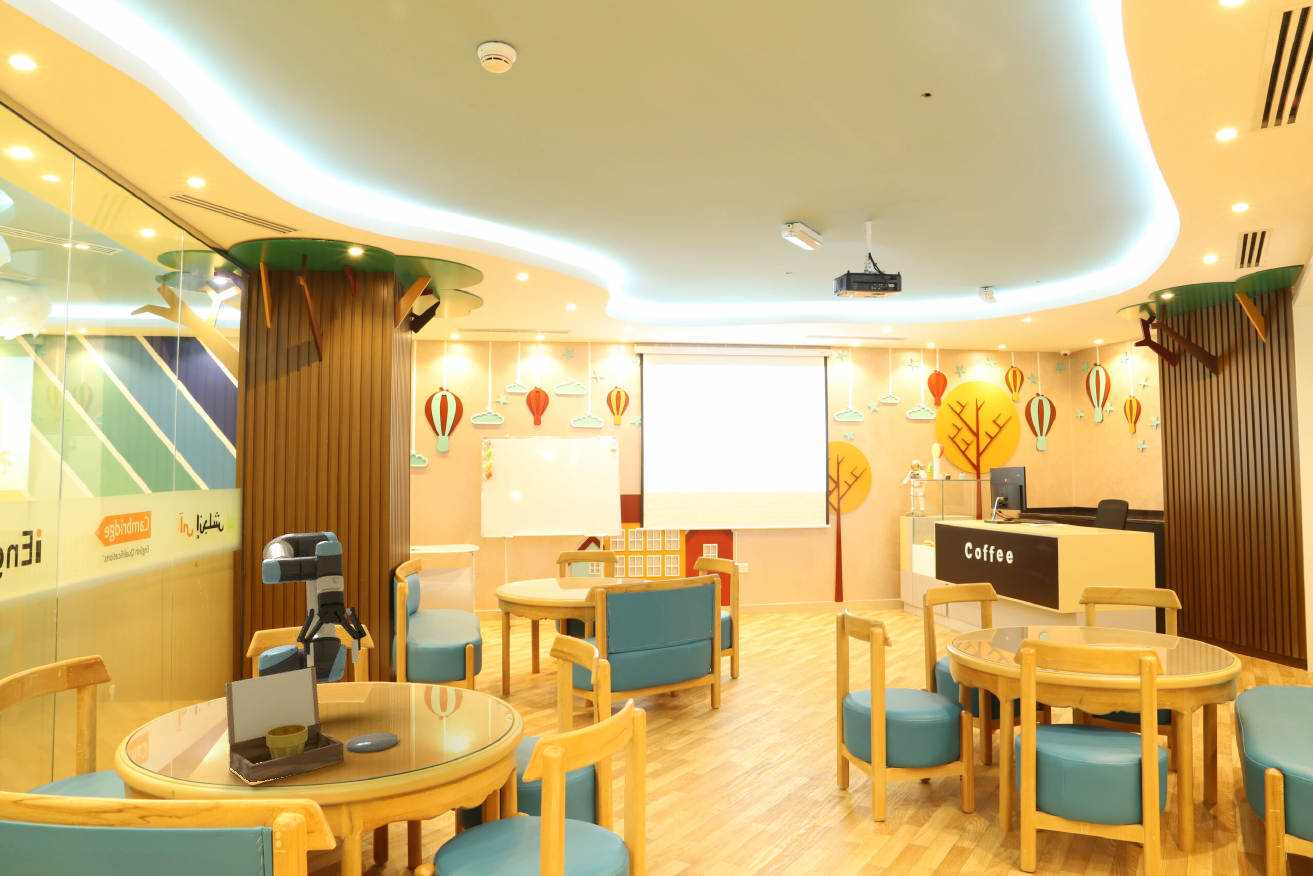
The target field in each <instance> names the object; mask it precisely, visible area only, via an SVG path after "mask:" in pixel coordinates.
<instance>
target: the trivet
mask: <svg viewBox="0 0 1313 876" xmlns="http://www.w3.org/2000/svg"><path fill="white" fill-rule="evenodd" d="M396 743H397V744H398V735H397V734H394V733H391V732H372V733H365V734H361V735H357V736H355V737H352V738H351V739H349V740H348V741H347V743H346V749H347V751H349V752H353V753H373V752H379V751H384V750H387V749H389V748H392V747H394V746H396V745H397V744H396Z"/></svg>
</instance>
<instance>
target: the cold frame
mask: <svg viewBox="0 0 1313 876" xmlns="http://www.w3.org/2000/svg"><path fill="white" fill-rule="evenodd" d="M307 727H308V738H307V741H305V744H304V749H303V752H301V753H297V754H293V755H289V756H285V757H281V758H277V759H273V760H272V758H271V754H270V749H269V747H268V746H267V745H266V736H262V737H258V738H254V739H249V740H245V741H241V742H236V743H232V744H229V769H230V768H232V769H233V770H234V771H236V772H237V773H238V774H239V775H241V776H242V777H243V778H244V779H246V780H248V781H249V782H257V781H265V780H270V779H275V778H276V779H277V778H280V779H282V778H281V777H284V778H287V777H286V776H288V777H290V776H289V775H291V776H294V774H295V775H298V774H297V773H299V774H301V773H307V772H309V771H313V770H316V769H321V768H324V767H329V766H333V765H336V764H339V763H343V762H344V742H342V741H341V740H339V739H337V738H334V737H333V736H331V735H329V734H327V733H325V732H323V731H321V723H319V724H315V725H310V726H307ZM260 762H262V763H260ZM256 763H258V764H256ZM277 780H278V779H277Z"/></svg>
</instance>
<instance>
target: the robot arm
mask: <svg viewBox="0 0 1313 876" xmlns="http://www.w3.org/2000/svg"><path fill="white" fill-rule="evenodd" d="M342 546H343V545H342V543H341V542H340V541H339V540H338V537H337V535H336V533H334V532H333V531H327V532H326V531H318V532H304V533H303V532H302V533H301V532H299V533H288V534H283V535H279V536H277V537H275V538H273V539H272V540H271V541H269V542H268V543H267V544H266V545H265V546H264V548H263V551H262V558H263V560H262V564H261V566H262V567H261V576H262V583H263V584H266V585H269V584H273V585H276V584H284V583H285V584H286V583H294V582H306V583H305V584H306V602H307V605H306V606H307V609H306V610H307V611H306V618H305V620H304V622H303V624H302V627H301V628H300V632H299V634H298V636H297V637H296V642H297V643H301V644H302V645H303V648H299V647H298V645H297V644H290V645H289V644H286V645H281V646H276V647H273V648H270V649H267V650H264V651H263V652H262V653H261V654H260V655H259V656H258V667H257V670H258V677H263V676H268V675H274V674H279V673H285V672H291V671H296V670H302V669H307V668H312V667H316V681H317V684H319V683H322V684H323V683H330V682H334V681H339V680H341V679H342V678H343V676H344V673H345V668H346V659H347V658H346V657H347V645H346V644H345V643H342V639H341V638H340V637H339V636H338V635H337V632H336V624H338V625H340V626H341V627H342V628H343V629H344V630H345V632H346V633H347V634H348V635H349V636H350V637H351V638H352V639H353V640H351V642H350V643H351V661H352V662H351V664H356V663H358V662H359V659H360V658H359V651H361V649H362V648H361V647H362V646H361V645H362V644H361V640H362V639H363V638H365V637H367V635H368V634H367V632H366V630H365V629H364V627H363V624H362V622H361V621H360V620H359V617H358V615H357V613H356V612H357V611H356V608H355V606H351V607H348V608H346V607H345V592H344V589H345V588H344V587H345V586H344V584H345V583H344V582H345V581H344V570H343V569H344V568H343V567H344V565H343V554H344V553H343V547H342ZM345 614H346V615H347V616H348V618H349V621H350V622H351V624H352V625H351V624H350V622H349V621H348V618H346V616H345Z"/></svg>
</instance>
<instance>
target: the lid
mask: <svg viewBox="0 0 1313 876" xmlns="http://www.w3.org/2000/svg"><path fill="white" fill-rule="evenodd" d="M225 694H226V695H225V698H226V699H225V701H226V715H227V720H226V721H227V737H228V738H227V739H228V745H230V744H232V743H236V742H241V741H245V740H249V739H254V738H258V737H262V736H266V733H267V731H269V730H270V729H272V728H275V727H279V726H283V725H290V724H302V725H306V726H310V725H315V724H321V723H320V711H319V710H320V709H319V700H318V699H319V697H318V683H317V681H316V667H312V668H307V669H302V670H296V671H291V672H285V673H279V674H274V675H268V676H263V677H259V676H258V677H254V678H248V679H241V680H238V681H236V680H235V681H231V682H226V683H225Z"/></svg>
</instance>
